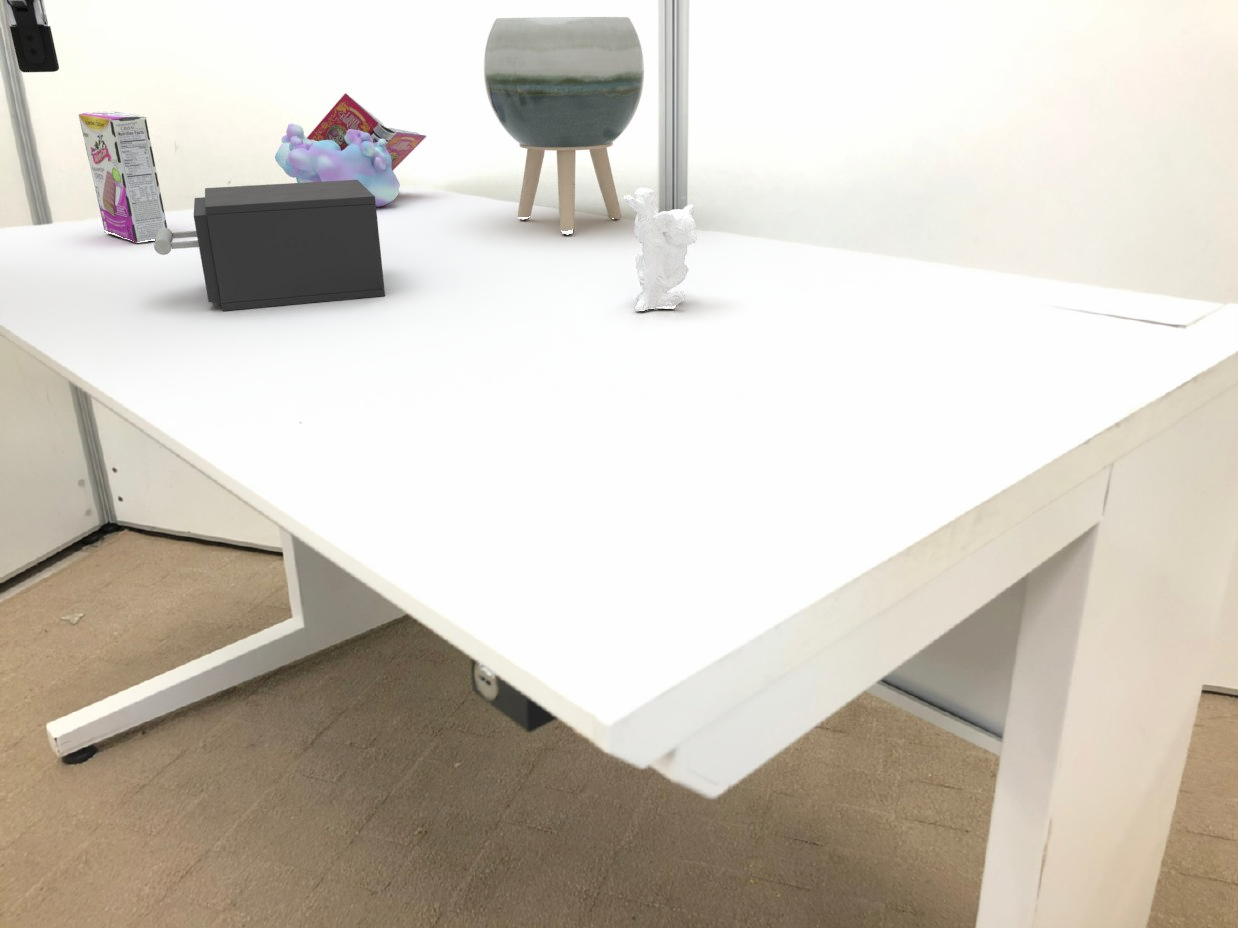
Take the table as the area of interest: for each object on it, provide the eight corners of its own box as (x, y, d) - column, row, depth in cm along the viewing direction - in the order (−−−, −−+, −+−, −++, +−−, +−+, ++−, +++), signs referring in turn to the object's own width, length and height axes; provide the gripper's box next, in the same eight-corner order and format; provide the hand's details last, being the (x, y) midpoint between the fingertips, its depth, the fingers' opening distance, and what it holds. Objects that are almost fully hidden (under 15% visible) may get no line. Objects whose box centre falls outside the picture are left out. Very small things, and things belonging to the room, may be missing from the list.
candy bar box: (102, 234, 142) (76, 113, 136) (137, 229, 146) (113, 110, 139) (135, 245, 135) (109, 117, 129) (171, 239, 139) (148, 114, 132)
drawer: (163, 306, 101) (146, 218, 98) (167, 280, 112) (152, 200, 109) (362, 288, 108) (352, 205, 104) (347, 265, 118) (338, 189, 115)
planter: (657, 214, 154) (658, 17, 143) (625, 242, 135) (624, 16, 123) (520, 210, 159) (511, 19, 148) (470, 236, 139) (455, 18, 128)
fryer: (222, 311, 103) (204, 206, 99) (220, 282, 115) (204, 188, 110) (385, 296, 108) (375, 196, 104) (367, 270, 120) (357, 179, 116)
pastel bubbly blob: (262, 186, 152) (312, 78, 147) (266, 163, 170) (311, 67, 166) (385, 248, 161) (436, 148, 156) (377, 220, 179) (422, 129, 175)
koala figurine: (638, 318, 99) (638, 194, 94) (607, 303, 105) (605, 186, 100) (710, 308, 103) (713, 188, 98) (676, 294, 108) (678, 180, 103)
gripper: (-41, -141, 93) (8, 70, 101) (-80, -169, 81) (-20, 75, 88) (49, -138, 96) (91, 68, 103) (25, -164, 83) (75, 73, 90)
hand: (40, 71), depth 96 cm, fingers closed
